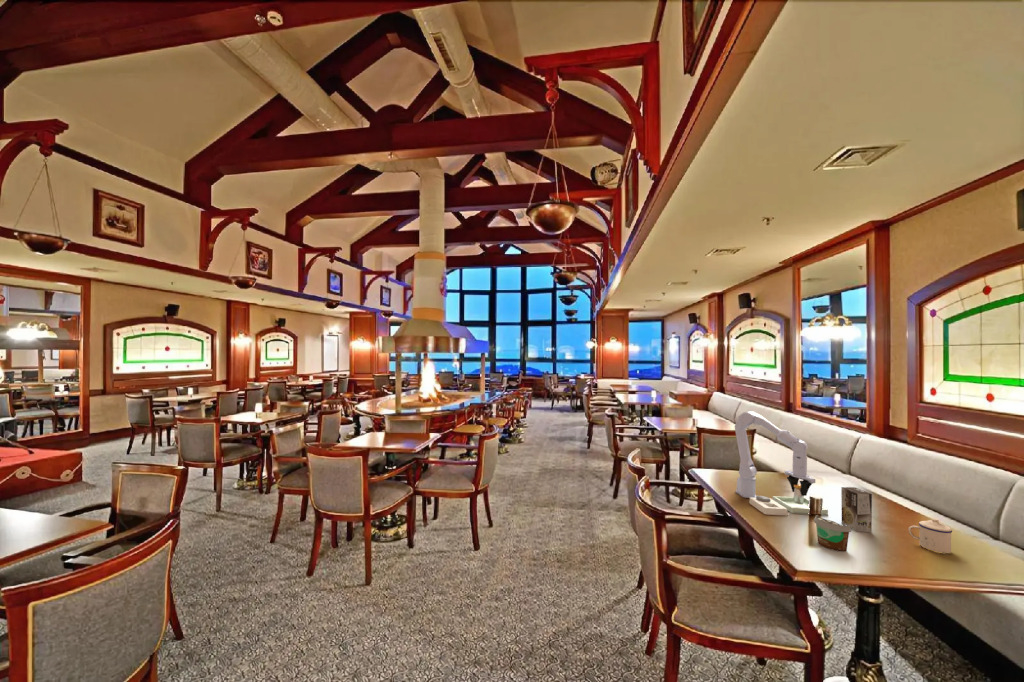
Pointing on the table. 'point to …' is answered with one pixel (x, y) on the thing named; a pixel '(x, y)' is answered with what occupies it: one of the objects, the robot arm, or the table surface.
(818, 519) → the food container
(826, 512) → the tray
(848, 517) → the coffee box
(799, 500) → the jar
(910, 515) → the table surface
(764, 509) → the plate
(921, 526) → the teacup with lid
